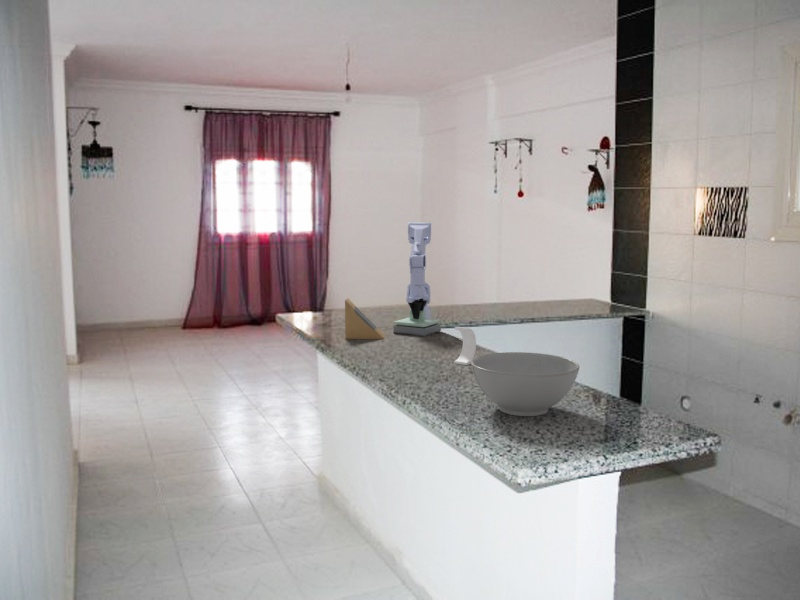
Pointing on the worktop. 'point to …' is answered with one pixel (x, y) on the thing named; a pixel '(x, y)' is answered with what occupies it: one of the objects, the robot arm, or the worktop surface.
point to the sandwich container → (359, 324)
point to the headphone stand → (466, 346)
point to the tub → (417, 330)
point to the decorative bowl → (524, 380)
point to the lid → (417, 321)
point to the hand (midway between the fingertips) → (417, 318)
